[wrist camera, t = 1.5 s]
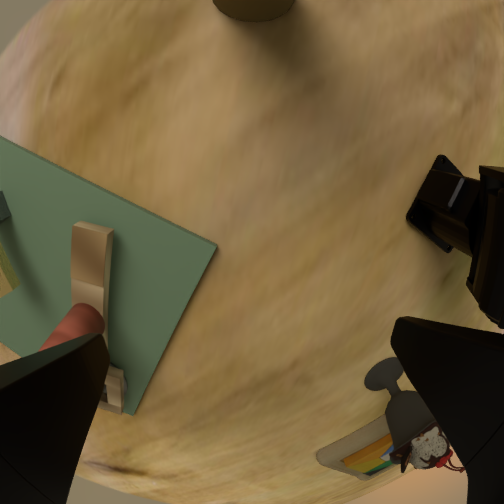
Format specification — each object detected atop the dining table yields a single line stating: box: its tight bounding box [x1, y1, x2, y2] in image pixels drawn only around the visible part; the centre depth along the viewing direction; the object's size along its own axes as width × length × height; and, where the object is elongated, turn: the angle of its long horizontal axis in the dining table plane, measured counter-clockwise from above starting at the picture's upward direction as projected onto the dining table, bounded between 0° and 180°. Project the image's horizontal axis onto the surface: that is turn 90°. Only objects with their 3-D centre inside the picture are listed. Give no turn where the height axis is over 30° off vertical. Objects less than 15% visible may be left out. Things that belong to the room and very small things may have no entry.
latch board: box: [0, 136, 217, 416], centre depth 21 cm, size 22×22×1 cm
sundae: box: [365, 357, 465, 473], centre depth 20 cm, size 7×7×15 cm
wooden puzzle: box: [316, 414, 398, 480], centre depth 32 cm, size 17×19×4 cm
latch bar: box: [38, 221, 124, 415], centre depth 17 cm, size 19×6×9 cm, turn 164°
